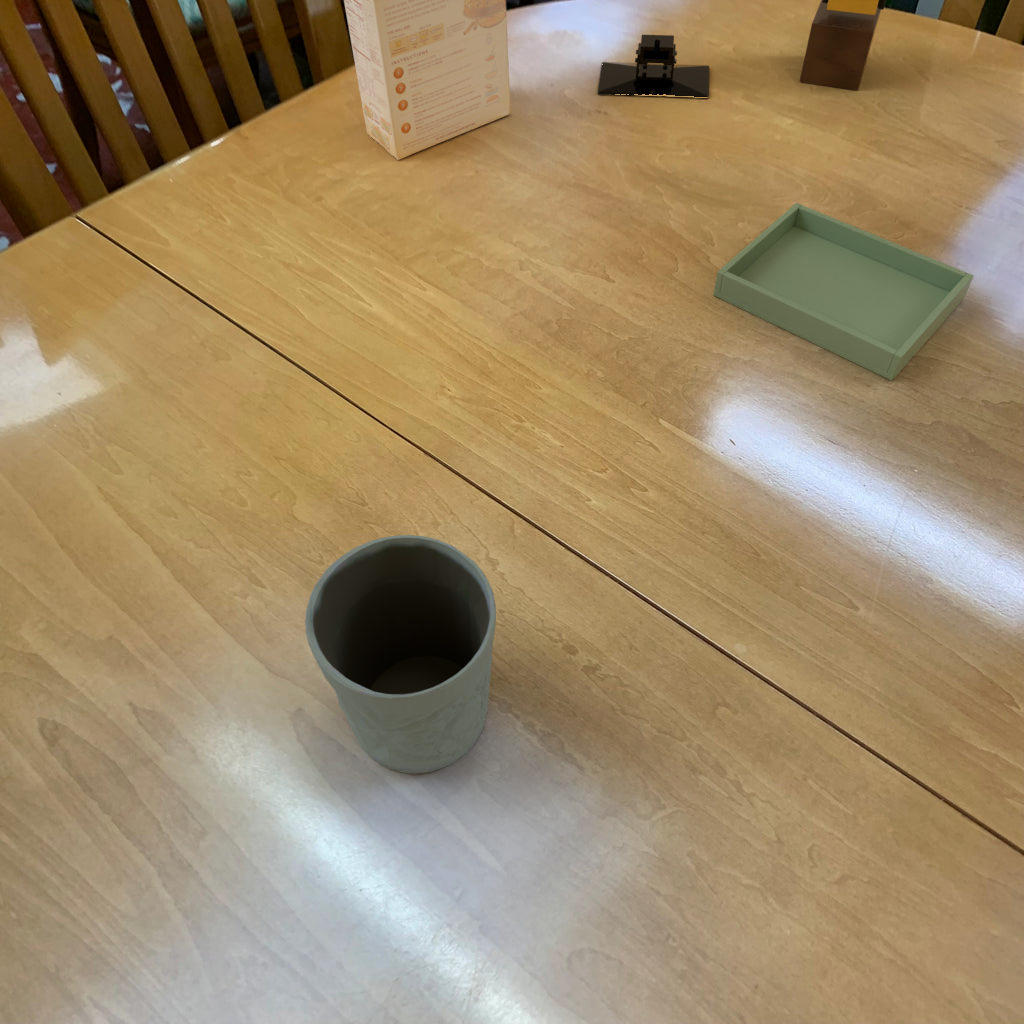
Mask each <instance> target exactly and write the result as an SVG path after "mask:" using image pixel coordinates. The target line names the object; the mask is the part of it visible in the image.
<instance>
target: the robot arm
mask: <svg viewBox="0 0 1024 1024" xmlns="http://www.w3.org/2000/svg"><path fill="white" fill-rule="evenodd" d="M828 1H829V0H823V2H822V3H828ZM886 2H887V0H879V2H878V6H877V8H879V9H881V11H882V10H884V9H885V6H886Z"/></svg>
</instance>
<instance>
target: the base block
mask: <svg viewBox="0 0 1024 1024" xmlns="http://www.w3.org/2000/svg"><path fill="white" fill-rule="evenodd" d="M822 2H823V0H820V2H819V5H818V8H817V10H816V12H815V15H814V18H813V20H812V22H811V26H810V30H809V35H808V40H807V45H806V49H805V53H804V58H803V63H802V68H801V72H800V77H799V83H803V82H804V84H811V85H816V86H817V85H818V86H824V87H832V88H838V89H845V90H850V91H859V89H860V85H861V83H862V79H863V75H864V73H865V69H866V66H867V64H868V60H869V55H870V52H871V49H872V45H873V40H874V37H875V34H876V30H877V26H878V22H879V19H880V15H881V11H882V9H879V8H877V10H876V13H875V15H870V14H861V13H852V12H843V11H834V10H827V6H828V3H822Z"/></svg>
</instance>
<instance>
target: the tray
mask: <svg viewBox="0 0 1024 1024" xmlns="http://www.w3.org/2000/svg"><path fill="white" fill-rule="evenodd" d="M716 273H717V274H716V276H715V277H716V278H715V284H714V290H713V296H714V297H716V298H718V299H720V300H721V301H725V302H726V303H729V304H731V305H733V306H734V307H737V308H739V309H741V310H743V311H745V312H747V313H749V314H751V315H753V316H756V317H758V318H760V319H762V320H764V321H766V322H768V323H769V324H772V325H774V326H776V327H778V328H781V329H783V330H784V331H787V332H789V333H791V334H793V335H795V336H797V337H799V338H802V339H803V340H805V341H807V342H809V343H812V344H814V345H816V346H819V347H821V348H823V349H825V350H827V351H828V352H831V353H833V354H835V355H837V356H839V357H841V358H843V359H845V360H848V361H849V362H851V363H853V364H856V365H857V366H860V367H862V368H864V369H866V370H868V371H870V372H872V373H874V374H876V375H879V376H881V377H883V378H885V379H886V380H889V381H893V380H895V378H896V377H897V376H898V375H899V373H900V372H901V371H903V369H904V368H905V367H906V366H907V364H908V363H909V362H910V361H911V360H912V358H914V356H915V355H917V353H918V352H919V351H920V350H921V348H922V347H923V346H924V345H925V344H926V343H927V341H928V340H929V339H930V338H931V337H932V336H933V335H934V333H935V332H936V331H937V330H938V329H939V328H940V327H941V325H942V324H944V322H945V321H946V320H947V319H948V317H950V315H951V314H952V313H953V312H954V311H955V310H956V308H957V307H958V306H959V305H960V304H961V303H962V301H963V300H964V299H965V297H966V294H967V292H968V290H969V288H970V285H971V283H972V281H973V279H974V276H975V275H974V274H973V273H972V274H971V273H969V272H967V271H965V270H961V269H959V268H957V267H954V266H953V265H949V264H947V263H945V262H942V261H940V260H937V259H935V258H932V257H930V256H927V255H925V254H923V253H920V252H917V251H915V250H913V249H910V248H908V247H906V246H903V245H901V244H898V243H896V242H894V241H891V240H888V239H886V238H884V237H882V236H879V235H876V234H874V233H871V232H869V231H866V230H864V229H862V228H859V227H858V226H857V227H856V225H855V226H854V225H852V224H849V223H847V222H844V221H842V220H839V219H838V218H835V217H833V216H831V215H828V214H825V213H822V212H820V211H817V210H815V209H813V208H812V207H811V208H810V207H809V206H806V205H803V204H801V203H798V202H795V203H794V204H793V205H792V206H791V207H789V209H787V210H786V211H785V212H784V213H783V214H782V215H781V216H779V218H777V219H776V220H775V221H773V223H771V224H770V225H769V226H768V227H767V228H765V229H764V230H763V231H762V232H761V233H760V234H759V235H757V236H756V237H755V238H754V239H753V240H751V242H750V243H749V244H748V245H746V246H745V247H744V248H742V250H741V251H740V252H738V253H737V254H736V255H734V257H733V258H731V259H730V260H729V261H728V262H726V263H725V265H723V266H722V267H721V268H720V269H719V270H718V271H717V272H716Z"/></svg>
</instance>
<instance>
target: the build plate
mask: <svg viewBox="0 0 1024 1024" xmlns="http://www.w3.org/2000/svg"><path fill="white" fill-rule="evenodd" d="M676 45H677V44H676V43H675V35H670V34H669V35H668V34H641V38H640V42H638V46H637V49H636V50H635V55H637V56H636V57H635V58H634V62H620V61H619V62H616V61H615V62H614V61H603V62H601V66H600V73H599V80H598V86H597V95H598V94H607V95H606V96H609V95H608V94H611V95H610V96H615V94H620V95H621V94H626V95H627V94H629V95H634V94H638V95H642V94H645V95H649V94H652V95H657V94H659V95H663V94H666V95H675V96H694V97H708V96H709V97H710V65H708V64H706V65H705V64H680V65H679V64H677V62H678V60H677V58H676V56H678V51H677V50H676V47H677V46H676ZM602 64H603V65H602ZM675 64H677V65H675Z"/></svg>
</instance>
